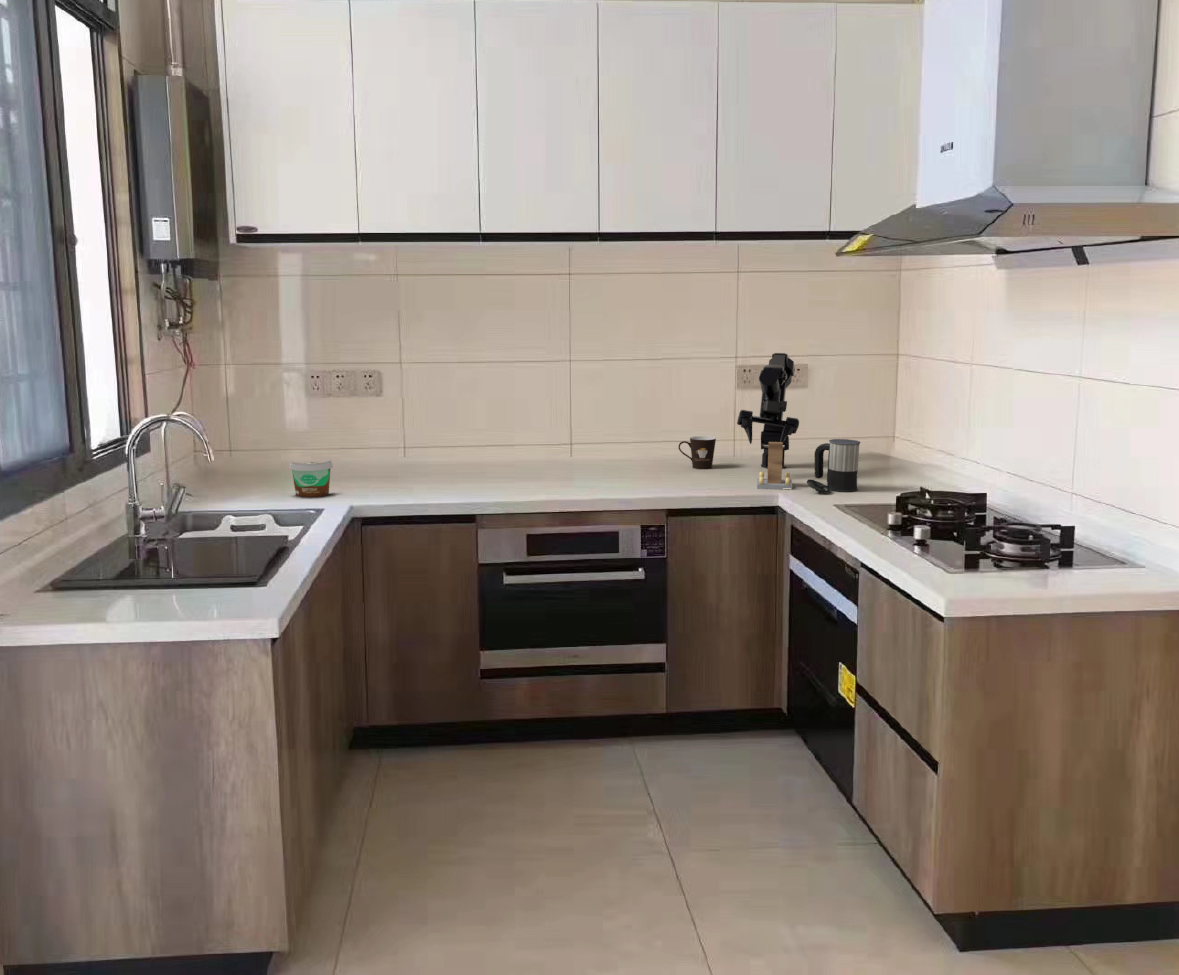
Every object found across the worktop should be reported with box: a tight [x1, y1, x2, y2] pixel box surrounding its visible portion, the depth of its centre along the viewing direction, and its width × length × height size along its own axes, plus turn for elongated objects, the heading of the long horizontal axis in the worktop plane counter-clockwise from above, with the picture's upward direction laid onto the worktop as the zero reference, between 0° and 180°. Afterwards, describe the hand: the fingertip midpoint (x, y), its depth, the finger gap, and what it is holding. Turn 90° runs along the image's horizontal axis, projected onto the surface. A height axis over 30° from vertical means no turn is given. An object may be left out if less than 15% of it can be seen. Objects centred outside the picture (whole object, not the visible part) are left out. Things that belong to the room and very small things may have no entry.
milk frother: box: [806, 438, 861, 494], centre depth 335 cm, size 14×16×15 cm
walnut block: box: [766, 442, 784, 484], centre depth 342 cm, size 4×4×12 cm
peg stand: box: [756, 471, 793, 490], centre depth 343 cm, size 10×10×3 cm
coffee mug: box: [678, 435, 717, 470], centre depth 375 cm, size 12×9×10 cm
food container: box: [289, 459, 334, 499], centre depth 323 cm, size 12×6×10 cm, turn 106°
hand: (765, 445), depth 350 cm, fingers open, 9 cm apart
